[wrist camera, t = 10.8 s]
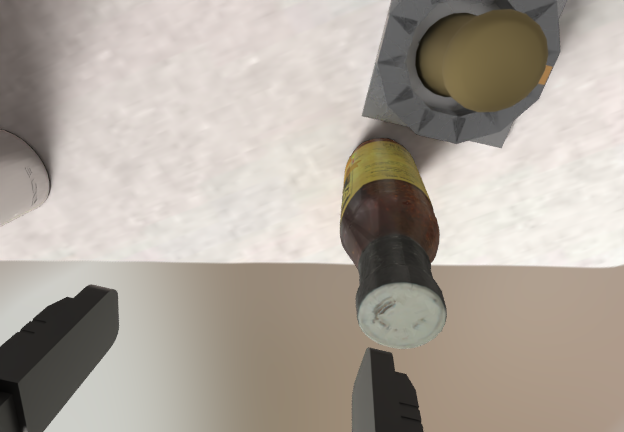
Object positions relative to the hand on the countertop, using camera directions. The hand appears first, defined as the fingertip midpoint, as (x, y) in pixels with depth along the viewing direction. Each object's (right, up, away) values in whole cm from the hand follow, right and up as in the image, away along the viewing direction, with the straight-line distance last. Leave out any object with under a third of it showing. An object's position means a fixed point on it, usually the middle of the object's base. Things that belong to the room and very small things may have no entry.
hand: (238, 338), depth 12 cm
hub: (+14, +17, +18) cm, 28 cm away
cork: (+13, +16, +17) cm, 27 cm away
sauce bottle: (+9, +8, +23) cm, 26 cm away
